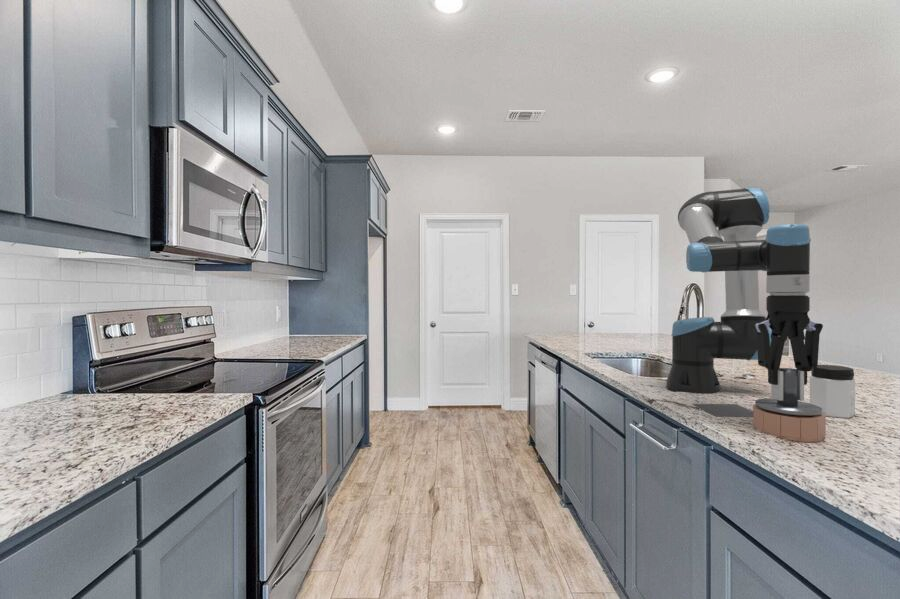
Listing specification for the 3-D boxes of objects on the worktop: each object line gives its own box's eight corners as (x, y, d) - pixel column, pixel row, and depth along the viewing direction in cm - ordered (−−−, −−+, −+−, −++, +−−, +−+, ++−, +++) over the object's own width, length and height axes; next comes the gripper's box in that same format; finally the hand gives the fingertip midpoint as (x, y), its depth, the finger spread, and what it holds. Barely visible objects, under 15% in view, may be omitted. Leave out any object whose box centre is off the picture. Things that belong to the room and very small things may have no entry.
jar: (847, 420, 102) (848, 371, 102) (805, 412, 109) (805, 366, 109) (858, 414, 107) (858, 367, 107) (817, 407, 114) (817, 363, 114)
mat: (691, 406, 117) (691, 403, 117) (736, 406, 116) (736, 404, 116) (715, 418, 105) (715, 416, 105) (766, 419, 104) (766, 417, 104)
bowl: (741, 423, 101) (741, 402, 100) (795, 424, 100) (795, 403, 100) (777, 441, 88) (777, 418, 88) (840, 442, 87) (840, 419, 87)
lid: (744, 401, 100) (744, 364, 100) (795, 402, 99) (795, 364, 99) (778, 415, 89) (778, 373, 88) (836, 416, 88) (836, 374, 88)
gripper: (759, 294, 90) (759, 403, 91) (841, 294, 89) (841, 403, 90) (738, 294, 98) (738, 394, 98) (813, 294, 97) (813, 395, 97)
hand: (787, 398), depth 94 cm, fingers closed on lid, 4 cm apart
